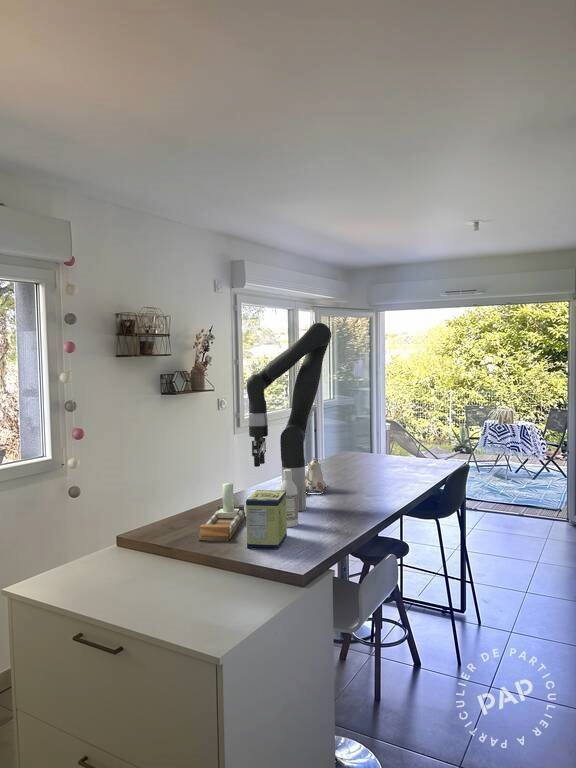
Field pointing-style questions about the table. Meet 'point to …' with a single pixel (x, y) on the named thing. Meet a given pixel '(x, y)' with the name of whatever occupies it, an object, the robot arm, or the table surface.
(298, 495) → the robot arm
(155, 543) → the table surface
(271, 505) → the protein box
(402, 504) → the table surface
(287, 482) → the bath foam
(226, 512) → the keeper
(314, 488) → the chinaware
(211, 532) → the rail
